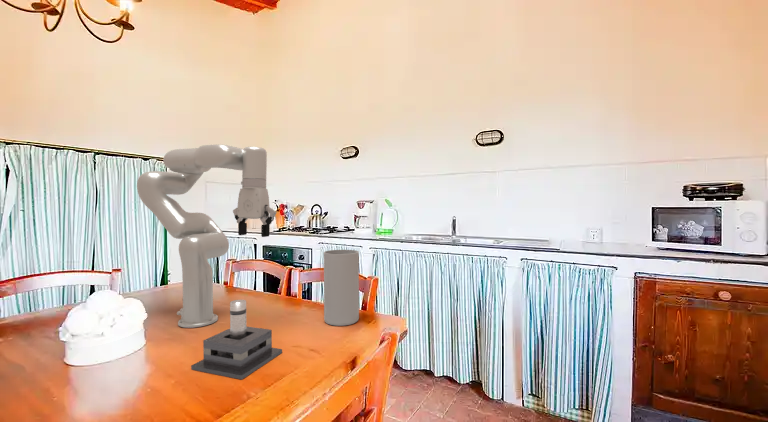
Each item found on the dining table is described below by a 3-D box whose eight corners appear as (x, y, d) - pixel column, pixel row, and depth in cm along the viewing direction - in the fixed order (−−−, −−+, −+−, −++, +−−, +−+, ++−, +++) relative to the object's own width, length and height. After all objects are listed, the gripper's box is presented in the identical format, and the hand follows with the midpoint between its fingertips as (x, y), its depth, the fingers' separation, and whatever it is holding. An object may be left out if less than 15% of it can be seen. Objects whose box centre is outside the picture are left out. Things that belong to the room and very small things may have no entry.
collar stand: (191, 369, 88) (190, 342, 88) (236, 345, 103) (236, 322, 103) (241, 379, 83) (241, 350, 83) (282, 352, 98) (282, 328, 98)
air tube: (227, 359, 92) (226, 303, 91) (238, 352, 96) (237, 299, 95) (239, 361, 90) (238, 304, 90) (250, 354, 94) (249, 300, 94)
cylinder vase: (344, 329, 116) (344, 255, 116) (316, 322, 123) (316, 252, 123) (365, 318, 127) (365, 251, 127) (339, 313, 134) (338, 248, 133)
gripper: (225, 184, 115) (225, 235, 115) (267, 184, 108) (266, 238, 109) (242, 185, 122) (242, 233, 122) (282, 185, 115) (282, 236, 116)
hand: (253, 235), depth 116 cm, fingers open, 9 cm apart
